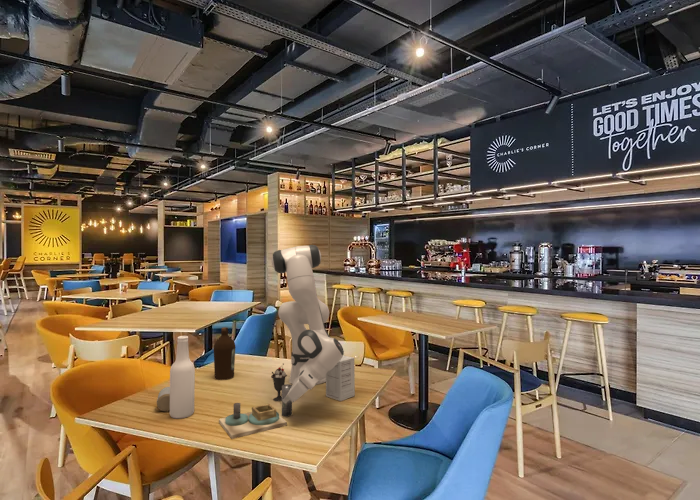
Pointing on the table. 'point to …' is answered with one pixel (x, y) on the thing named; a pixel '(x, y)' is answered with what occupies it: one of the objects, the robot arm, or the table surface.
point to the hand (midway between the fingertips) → (285, 399)
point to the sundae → (279, 382)
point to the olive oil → (224, 356)
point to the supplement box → (341, 380)
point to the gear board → (251, 421)
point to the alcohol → (182, 382)
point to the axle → (288, 406)
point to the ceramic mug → (164, 399)
